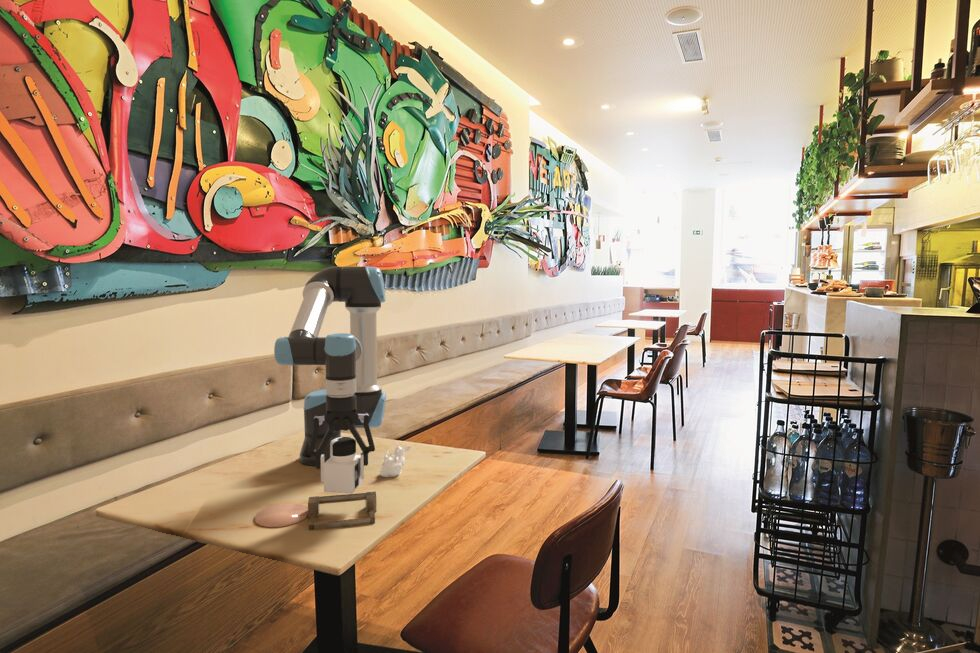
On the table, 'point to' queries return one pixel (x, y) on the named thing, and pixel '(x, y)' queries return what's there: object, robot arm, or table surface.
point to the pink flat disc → (281, 515)
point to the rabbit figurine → (394, 462)
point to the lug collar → (314, 513)
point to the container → (342, 467)
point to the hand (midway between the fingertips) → (342, 478)
